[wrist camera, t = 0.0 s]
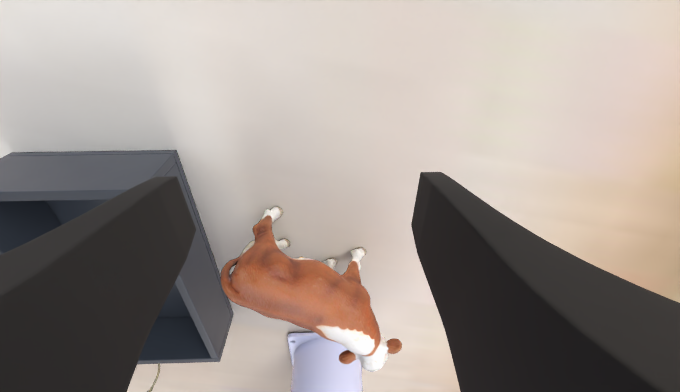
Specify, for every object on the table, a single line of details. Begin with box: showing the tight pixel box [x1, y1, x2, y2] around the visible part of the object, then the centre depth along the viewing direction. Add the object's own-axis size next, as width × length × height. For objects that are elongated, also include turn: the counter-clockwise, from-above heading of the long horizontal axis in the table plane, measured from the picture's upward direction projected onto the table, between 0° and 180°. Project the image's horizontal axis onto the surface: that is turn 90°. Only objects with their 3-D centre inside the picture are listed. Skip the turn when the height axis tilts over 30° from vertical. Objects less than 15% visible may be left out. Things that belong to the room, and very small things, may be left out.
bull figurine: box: [220, 207, 402, 372], centre depth 21 cm, size 4×13×8 cm, turn 51°
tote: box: [0, 150, 233, 364], centre depth 22 cm, size 18×10×4 cm, turn 0°
